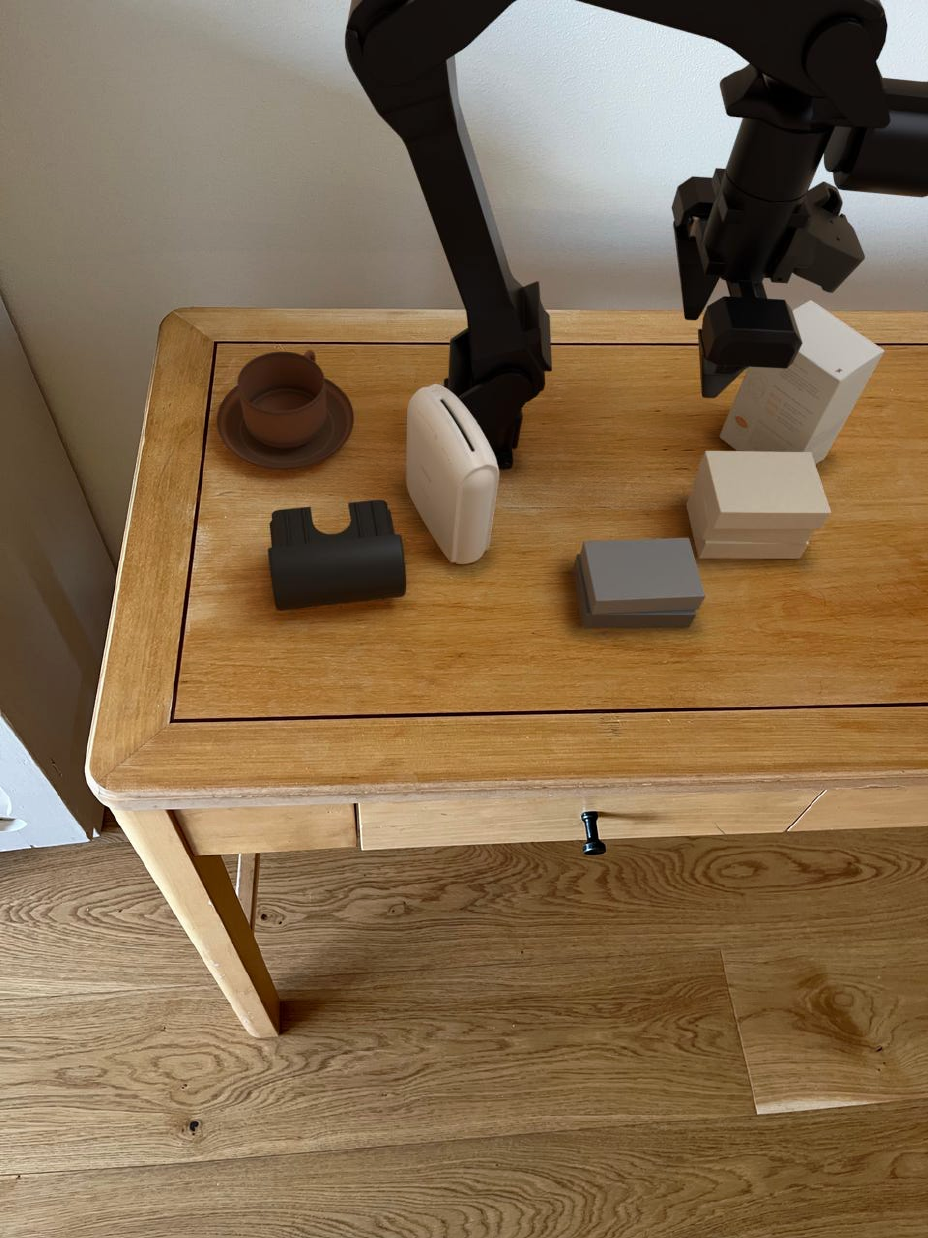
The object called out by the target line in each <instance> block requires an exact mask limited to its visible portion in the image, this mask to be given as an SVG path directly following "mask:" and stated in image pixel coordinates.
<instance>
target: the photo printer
mask: <svg viewBox="0 0 928 1238" xmlns="http://www.w3.org/2000/svg"><path fill="white" fill-rule="evenodd" d="M406 413H407V414H406V417H407V418H406V448H405V449H406V454H405V456H406V457H405V460H406V462H405V483H406V489H407V493H408V495H409V497H410V498H411V501H412V503H413V506H414V507H415V508H416V510H417V512H418V514H419V516H420V518H421V520H422V521H423V524H424V525H425V527H426V528H427V530H428V531H429V533H430V535H431V536H432V538H433V540H434V541H435V542H436V544H437V546H438V547H439V549H440V551H441V552H442V553H443V555H444V556H445V558H446V559H447V560H448V561H449V562H450V563H455V564H458V565H467V564H472V563H474V562H477V561H478V560H480V559H481V558H482V557H483V556H484V555H485V552H486V551H488V550H489V549H490V545H491V540H492V539H491V538H492V530H493V524H494V523H493V522H494V516H495V510H496V509H495V508H496V501H497V494H498V488H499V481H500V469H498V465H497V461H496V457H495V455H494V453H493V450H492V448H491V446H490V444H489V442H488V440H487V439H486V437H485V435H484V433H483V432H482V430H481V428H480V426H479V425H478V424H477V421H476V420H475V419H474V418H473V416H472V415H471V413H470V412H469V410H468V409H467V408H466V407H465V405H464V404H463V403H462V402H461V401H460V400H459V399H458V397H457V396H456V395H454V394H453V393H452V392H451V391H450V390H448V389H447V388H445V387H444V385H442V384H439V383H433V384H431V385H428V386H422V387H420V388H419V389H418V390H416V391H415V393H414V394H413V395H412V397H411V398H410V400H409V402H408V404H407V411H406Z"/></svg>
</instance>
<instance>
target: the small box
mask: <svg viewBox="0 0 928 1238" xmlns="http://www.w3.org/2000/svg"><path fill="white" fill-rule="evenodd" d="M792 311H793V314H794V318H795V321H796V324H797V327H798V330H799V333H800V336H801V339H802V345H801V347H800V349H799V351H798V354H797V356H796V358H795V360H794V362H793V364H791V365H790V366H789V367H788V368H787V369H783V368H764V367H748V368H747V369H746V370H745V374H744V376H743V379H742V381H741V383H740V386H739V388H738V390H737V393H736V395H735V397H734V400H733V402H732V403H731V407H730V410H729V412H728V413H727V417H726V419H725V421H724V424H723V427H722V429H721V431H720V434H719V438H720V439H721V440H723V442H725V443H726V444H727V445H729V446H730V447H731V448H733V449H734V451H760V452H811V453H812V456H813V459H814V462H815V465H817V464H818V463H820V462H822V461H823V460H825V458H826V457H827V455H828V453H829V452H830V450H831V448H832V446H833V445H834V443H835V441H836V439H837V437H838V436H839V435H840V432H841V431H842V429H843V427H844V425H845V423H846V422H847V420H848V418H849V416H850V414H851V413H852V411H853V409H854V407H855V405H856V403H857V402H858V400H859V398H860V397H861V395H862V393H863V391H864V389H865V387H866V386H867V384H868V382H869V380H870V379H871V376H872V375H873V373H874V371H875V369H876V368H877V366H878V364H879V363H880V361H881V359H882V357H883V355H884V353H885V350H884V349H883V348H882V347H880V346H879V345H877V344H876V343H874V342H873V341H872V340H870V339H869V338H867V337H866V336H864V335H863V334H861V333H860V332H858V331H857V330H855V329H854V328H852V327H851V326H849V324H847V323H845V322H844V321H843V320H841V319H839V318H838V317H836V316H835V315H834V314H832V313H831V312H829V311H828V310H827V309H825V308H823V306H821V305H819V304H817V302H815V301H814V300H812V299H810V300H808V301H806V302H805V303H803V304H802V305H800V306H798V307H796V308H795V309H792Z"/></svg>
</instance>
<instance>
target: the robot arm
mask: <svg viewBox="0 0 928 1238" xmlns="http://www.w3.org/2000/svg"><path fill="white" fill-rule="evenodd" d="M517 1H518V0H351V1H350V7H349V11H348V17H347V21H346V22H347V23H346V27H345V33H344V49H345V54H346V58H347V62H348V63H349V66H350V68H351V70H352V72H353V73H354V75H355V77H356V80H358V82H359V84H360V86H361V87H362V89H363V91H364V93H365V94H366V96H367V98H368V99H369V101H370V103H371V104H372V105H371V106H373V108H374V110H375V111H376V113H377V114H378V115H379V117H380V118H381V119H382V120H383V121H384V122H385V123H386V124H387V125H388V126H389V127H390V129H392V130H393V131H394V132H395V133H396V135H397V136H398V137H399V138H400V139H401V140H402V143H403V144H404V146H405V149H406V151H407V153H408V156H409V159H410V162H411V164H412V168H413V171H414V173H415V175H416V178H417V181H418V183H419V186H420V189H421V192H422V195H423V197H424V201H425V203H426V205H427V208H428V211H429V214H430V217H431V219H432V222H433V225H434V227H435V231H436V233H437V236H438V239H439V241H440V245H441V247H442V249H443V252H444V255H445V257H446V260H447V263H448V266H449V269H450V271H451V274H452V277H453V280H454V282H455V285H456V287H457V290H458V293H459V296H460V299H461V301H462V304H463V306H464V309H465V313H466V323H467V327H466V328H465V329H463V330H462V331H460V332H459V333H457V334H456V335H454V336H453V337H450V340H449V351H448V352H449V353H448V354H449V355H448V373H447V376H448V377H445V378H444V379H443V387H445V388H447V389H448V390H450V391H451V392H452V393H453V394H454V395H456V396H457V397H458V399H459V400H460V401H461V402H462V403H463V404H464V405H465V407H466V408H467V409H468V410H469V412H470V413H471V415H472V416H473V418H474V419H475V420H476V421H477V424H478V425H479V426H480V428H481V430H482V432H483V433H484V435H485V437H486V439H487V440H488V442H489V444H490V446H491V448H492V450H493V453H494V455H495V457H496V461H497V465H498V469H499V470H510V469H512V468H513V466H514V453H513V450H516V449H517V448H518V447H519V441H520V435H521V431H522V423H523V419H524V416H523V408H524V406H525V405H526V404H527V403H529V402H531V401H532V400H534V399H536V397H538V395H539V394H540V393H541V392H543V391H544V390H545V387H546V372H548V373H549V372H552V371H553V361H552V339H551V338H552V337H551V316H550V313H548V311H547V310H546V309H545V308H544V305H543V304H542V300H541V299H542V298H541V290H540V289H541V287H540V286H541V285H540V281H539V280H536V281H534V282H531V283H529V284H526V285H522V284H521V282H519V281H518V280H517V279H516V278H515V277H514V275H513V273H512V271H511V269H510V265H509V262H508V259H507V255H506V252H505V249H504V245H503V241H502V238H501V236H500V232H499V229H498V226H497V223H496V220H495V216H494V213H493V209H492V205H491V203H490V200H489V196H488V193H487V190H486V186H485V183H484V180H483V176H482V173H481V169H480V166H479V163H478V159H477V157H476V153H475V150H474V149H475V148H474V146H473V143H472V140H471V136H470V133H469V130H468V127H467V123H466V120H465V117H464V113H463V111H462V110H463V109H462V108H461V103H460V97H459V90H458V89H459V88H458V77H457V64H456V55H457V54H459V53H461V51H463V50H465V49H466V48H467V47H468V46H470V45H471V44H472V43H473V42H474V41H475V40H476V39H477V38H478V37H479V36H480V35H481V34H483V33H484V31H486V29H488V28H489V27H490V26H491V24H493V22H495V21H496V20H497V19H498V18H499V17H500V16H501V15H502V14H503V13H504V12H505V11H507V9H509V7H510V6H511V5H512V4H514V3H515V2H517ZM574 1H575V2H579V3H583V4H586V5H589V6H592V7H597V8H601V9H603V10H607V11H611V12H614V13H618V14H620V15H625V16H629V17H631V18H632V17H633V18H634V19H635V18H636V19H639V20H642V21H647V22H648V23H649V22H650V23H653V24H657V25H660V26H664V27H668V28H670V29H675V30H677V31H682V32H685V33H689V34H691V35H696V36H699V37H702V38H706V39H709V40H713V41H716V42H717V43H719V44H721V45H723V46H725V47H726V48H728V49H730V50H732V51H733V52H735V53H736V54H737V55H738V56H740V57H741V58H742V59H743V60H745V61H746V62H747V63H748V64H747V65H745V66H744V67H743V68H740V69H739V70H738V69H737V70H735V71H733V72H732V73H730V74H728V75H726V76H724V77H723V78H722V79H721V80H720V81H719V90H720V94H721V98H722V102H723V106H724V110H725V114H726V116H727V117H730V118H737V119H741V122H740V125H739V128H738V131H737V134H736V137H735V140H734V142H733V144H732V145H733V146H732V148H731V151H730V155H729V158H728V160H727V163H726V166H725V168H722V167H721V168H720V167H715V169H714V172H713V175H712V177H709V176H693V175H692V176H690V177H689V178H688V179H686V180H685V181H684V182H681V183H680V184H679V185H677V187H676V190H675V194H674V198H673V201H672V205H671V211H672V215H673V222H672V228H673V235H674V242H675V249H676V250H675V251H676V258H677V259H676V260H677V266H678V275H679V282H680V283H679V284H680V291H681V299H682V301H681V302H682V310H683V317H684V319H685V320H686V321H697V320H699V318H700V316H701V315H702V313H703V311H704V310H705V311H704V314H703V317H702V321H701V322H702V323H701V328H697V340H698V355H699V356H698V358H699V359H698V361H699V379H700V391H701V396H702V398H704V399H716V398H717V397H718V396H719V395H720V394H721V393H723V391H725V389H727V388H728V387H729V386H730V385H731V384H732V383H733V382H734V381H736V379H737V378H738V377H739V376H740V375H741V374H742V373H743V372H745V371H747V369H748V367H764V368H783V369H787V368H788V367H789V366H790V365H791V364H793V362H794V360H795V358H796V356H797V354H798V351H799V349H800V347H801V345H802V339H801V336H800V333H799V330H798V327H797V324H796V321H795V318H794V314H793V309H792V308H791V307H790V305H789V304H788V302H787V301H786V299H780V298H768V296H767V293H766V289H765V286H764V280H765V279H769V280H770V282H771V283H772V284H773V283H774V284H788V283H789V281H790V279H791V277H792V275H795V276H796V277H799V278H800V279H803V280H804V281H808V282H810V283H812V284H814V285H816V286H819V287H821V290H822V291H823V292H826V293H827V294H829V293H830V294H833V293H835V292H836V290H838V288H839V287H840V286H841V285H842V284H843V283H844V282H845V281H846V280H847V278H848V277H850V276H851V274H852V273H853V272H855V270H856V269H857V268H858V267H859V266H860V265H862V264H861V263H863V262H864V261H865V260H866V255H865V253H864V249H863V248H862V245H861V242H860V240H859V237H858V234H857V231H856V230H855V228H854V227H853V225H852V224H851V223H850V222H849V221H848V218H847V215H846V214H844V213H841V210H842V207H843V205H844V204H843V198H842V196H841V194H840V191H847V192H857V193H867V194H877V195H878V194H879V195H888V196H889V195H890V196H899V197H900V196H901V197H910V198H911V197H912V198H920V199H921V198H925V197H928V80H927V81H921V80H910V79H900V78H890V77H883V75H882V73H881V71H880V70H881V69H880V68H879V66H878V62H877V60H878V59H879V58H880V56H881V53H882V51H883V48H884V46H885V44H886V42H887V41H886V40H887V33H888V20H887V16H886V10H885V9H884V7H883V4H882V2H881V0H574ZM822 159H823V167H824V170H825V171H826V172H828V173H832V177H833V184H834V185H832V184H831V183H828V182H826V181H825V180H824V181H821V182H820V183H818V184H816V185H814V186H813V187H811V185H812V183H813V180H814V178H815V175H816V173H817V170H818V168H819V166H820V164H821V162H822ZM810 187H811V188H810ZM839 190H840V191H839ZM720 279H721V280H723V281H725V284H726V287H727V291H728V295H729V296H727V295H723V296H722V297H720V298H718V299H717V300H715V301H714V302H712V303H710V304H708V302H709V300H710V298H711V296H712V294H713V292H714V291H715V289H716V286H717V284H718V283H719V281H720ZM707 304H708V305H707ZM705 308H706V309H705Z"/></svg>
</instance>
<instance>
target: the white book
mask: <svg viewBox="0 0 928 1238" xmlns="http://www.w3.org/2000/svg"><path fill="white" fill-rule="evenodd" d="M816 465H817V464H816ZM816 465H815V462H814V459H813V456H812V453H811V452H760V451H736V450H705V451H704V453H703V455H702V458H701V460H700V462H699V464H698V467H697V471H698V470H699V474H700V478H701V483H702V487H703V491H704V495H705V499H706V503H707V507H708V511H709V515H710V519H711V524H712V528H713V529H815V530H822V529H823V527H824V525H825V524H826V522H827V520H828V519H829V517H830V516H831V514H832V511H831V510H832V509H831V507H830V504H829V502H828V499H827V495H826V493H825V492H826V491H825V490H824V487H823V484H822V480H821V477H820V474H819V471H818V469H817V466H816Z"/></svg>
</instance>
